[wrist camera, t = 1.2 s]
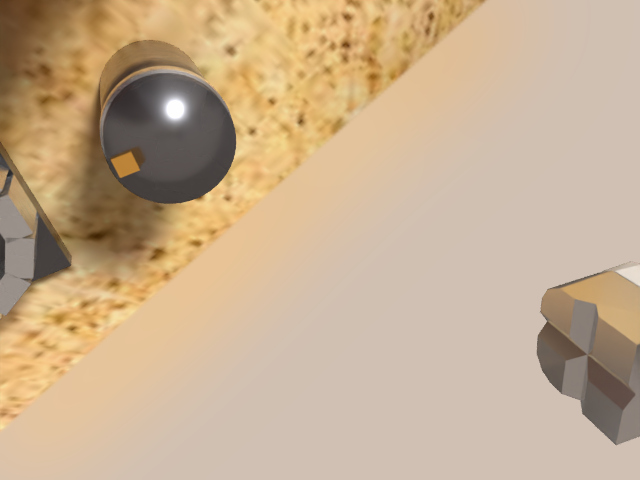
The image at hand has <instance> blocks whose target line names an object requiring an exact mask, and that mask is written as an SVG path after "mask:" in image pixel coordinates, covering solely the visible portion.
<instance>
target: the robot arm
mask: <svg viewBox="0 0 640 480" xmlns="http://www.w3.org/2000/svg"><path fill="white" fill-rule="evenodd" d="M540 312H541V313H542V315H543V316H544V317H545V319H546V320H547V323H546V324H545V326H544V327H543V329H542V330H541V332H540V333H539V335H538V341H537V355H538V359H539V361H540V365H541V368H542V371H543V372H544V374H545V375H546V377H547V378H548V380H549V381H550V383H551V384H552V385H553V386H554V387H555V388H556V389H557V390H559V392H561V394H564V395H567V396H570V397H573V398H575V399H579V400H581V407H582V413H583V415H585V416H586V417H587V418H588V419H589V420H590V421H591V422H592V423H593V424H594V425H595V426H596V427H597V428H598V429H599V430H600V431H602V432H603V433H604V434H605V435H606V436H607V437H608V438H609V439H610V440H611V441H612V442H613V443H614V444H615V445H618V444H620V443H623V442H626V441H628V440H631V439H634V438H636V437H639V436H640V263H635V262H629V263H626V264H622V265H619V266H616V267H613V268H610V269H608V270H604V271H603V272H601V273H597V274H594V275H591V276H587V277H584V278H581V279H578V280H575V281H572V282H569V283H565V284H563V285H559V286H556V287H553V288H550V289H548V290H547V291H546V293H545V295H544V296H543V298H542V304H541V311H540Z"/></svg>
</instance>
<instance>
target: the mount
mask: <svg viewBox="0 0 640 480" xmlns="http://www.w3.org/2000/svg"><path fill="white" fill-rule="evenodd" d="M68 266H71V255H70V253H69V251H68V250H67V248H66V247H65V245H64V243H63V242H62V240H61V239H60V237H59V235H58V234H57V232H56V231H55V229H54V227H53V226H52V224H51V222H50V221H49V219H48V218H47V216H46V214H45V213H44V211H43V210H42V208H41V206H40V205H39V203H38V202H37V200H36V198H35V197H34V195H33V194H32V192H31V190H30V189H29V187H28V186H27V184H26V182H25V181H24V179H23V177H22V176H21V174H20V173H19V171H18V169H17V168H16V166H15V165H14V163H13V161H12V160H11V158H10V157H9V155H8V153H7V152H6V150H5V149H4V147H3V145H2V144H1V142H0V320H1V316H2V314H3V315H5V316H6V315H7V314H8V312H9V311H10V310H11V309H12V307H13V306H14V305H15V303H16V302H17V301H18V300H19V298H20V297H21V296H22V295H23V293H24V292H25V291H26V290H27V288H28V287H29V286H30V285H31V282H32V281H35V280H37V279H39V278H42V277H44V276H47V275H49V274H51V273H54V272H56V271H59V270H61V269H63V268H66V267H68Z"/></svg>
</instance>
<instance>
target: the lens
mask: <svg viewBox="0 0 640 480" xmlns="http://www.w3.org/2000/svg"><path fill="white" fill-rule="evenodd" d="M100 103H101V117H100V140H101V146H102V149H103V153H104V155H105V157H106V160H107V163H108V165H109V167H110V169H111V171H112V173H113V174H114V176H115V177H116V178H117V179H118V181H119V182H120V183H121V184H122V185H123V186H124V187H125V188H127V189H128V190H129V191H131V192H132V193H134V194H136V195H137V196H139V197H141V198H144V199H146V200H149V201H153V202H158V203H169V204H173V203H182V202H187V201H190V200H193V199H196V198H198V197H200V196H203V195H204V194H206V193H208V192H209V191H211V190H212V189H213V188H214V187H215V186H217V185H218V184H219V182H220V181H221V180H222V179H223V178H224V176H225V175H226V174H227V172H228V170H229V168H230V167H231V164H232V161H233V159H234V155H235V149H236V134H235V128H234V124H233V121H232V118H231V115H230V112H229V110H228V108H227V106H226V104H225V102H224V101H223V99H222V97H221V96H220V95H219V93H218V92H217V91H216V90H215V88H214V87H213V86H212V85H211V84H210V83H209V82H208V81H207V80H206V79H205V78H204V76H203V75H202V73H201V72H200V71H199V69H198V68H197V66H196V65H195V63H194V62H193V61H192V60H191V59H190V57H189V56H187V55H186V54H185V53H184V52H183V51H181V50H180V49H179V48H177V47H175V46H173V45H171V44H168V43H165V42H161V41H155V40H144V41H138V42H134V43H131V44H129V45H127V46H125V47H123V48H121V49H120V50H118V51H117V52H116V53H115V54H114V55H113V56H112V57H111V58H110V59H109V61H108V62H107V64H106V65H105V68H104V70H103V72H102V75H101V80H100Z"/></svg>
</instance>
